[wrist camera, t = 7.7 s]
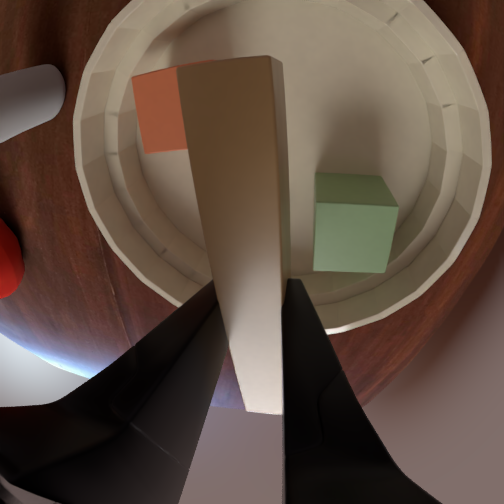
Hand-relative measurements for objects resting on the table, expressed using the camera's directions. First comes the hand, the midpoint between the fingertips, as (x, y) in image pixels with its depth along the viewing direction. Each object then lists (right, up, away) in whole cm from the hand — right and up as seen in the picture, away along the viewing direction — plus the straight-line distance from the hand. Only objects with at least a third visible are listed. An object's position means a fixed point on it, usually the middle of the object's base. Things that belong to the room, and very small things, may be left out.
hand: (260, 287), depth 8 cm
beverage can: (-16, +14, +7) cm, 22 cm away
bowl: (+1, +7, +8) cm, 10 cm away
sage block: (+5, +4, +8) cm, 11 cm away
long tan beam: (0, +1, +1) cm, 1 cm away
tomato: (-31, +3, +18) cm, 36 cm away
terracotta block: (-3, +10, +6) cm, 12 cm away
